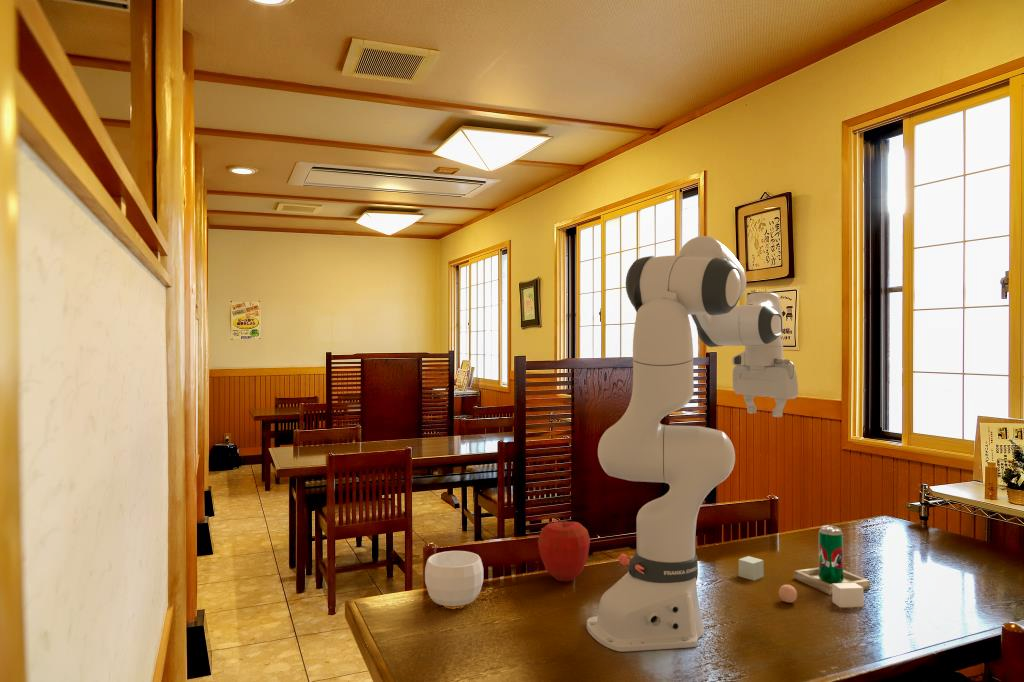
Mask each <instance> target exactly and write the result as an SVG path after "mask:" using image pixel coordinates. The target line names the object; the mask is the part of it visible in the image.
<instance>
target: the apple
mask: <svg viewBox="0 0 1024 682" xmlns="http://www.w3.org/2000/svg"><path fill="white" fill-rule="evenodd" d="M590 543H591V539H590V535H589V531H588V529H587V528H586V527H585V526H583V524H581V523H580V522H578V521H566V518H564V519H563V521H554V522H550V523H548V524H546V525H545V526H544V527H543V528H541V530H540V533H539V537H538V539H537V546H538V551H539V556H540V559H541V561H542V563H543V566H544V568H545V570H546V572H547V573H548V574H549V575H551V576H552V577H553V578H554V579H555V580H557V581H559V582H572V581H574V580H575V579H576V578H577V577H578V576H579V575H580V574H582V573H583V570H584V568H585V565H586V564H587V563H586V562H587V559H588V557H589V550H590V545H591V544H590Z"/></svg>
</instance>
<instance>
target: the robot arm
mask: <svg viewBox="0 0 1024 682" xmlns="http://www.w3.org/2000/svg"><path fill="white" fill-rule="evenodd" d="M745 272H746V271H745V269H744V267H743V266H742V265H741V263H740V261H739V260H738V259H737V258H736V256H735V255H734V253H733V252H732V251H731V250H730V249H729V248H728V247H727V246H726V245H724V244H723V243H721V242H720V241H719V240H717V238H714V237H711V236H707V235H700V236H696V237H693V238H691V239H689V240H688V241H686V243H684V245H683V246H681V248H680V250H679V253H678V255H677V254H676V255H663V256H662V255H661V256H656V255H650V256H645V257H640V258H637V259H636V260H634V262H632V264H631V266H630V267H629V268H628V271H627V273H626V276H625V277H626V278H625V292H626V294H627V297H628V299H629V301H630V303H631V305H632V306H633V308H634V310H635V312H636V314H635V315H636V316H635V322H634V328H633V338H632V366H633V367H632V371H633V372H632V392H631V396H630V397H631V398H630V400H629V403H628V404H629V405H628V406H627V409H626V411H625V412H624V414H623V415H622V416H621V418H620V419H619V420H618V421H616V422H615V423H614V424H612V425H611V426H610V427H608V428H607V429H605V431H604V432H603V434H602V436H601V437H600V439H599V442H598V447H597V457H598V461H599V464H600V466H601V468H602V469H603V471H604V472H605V474H607V475H608V476H609V477H613V478H617V479H621V480H626V481H631V482H642V483H643V482H646V483H665V484H668V485H669V490H668V491H667V492H666V493H665V494H664V495H662V496H661V497H660V496H659V497H658V498H655V499H652V500H651V501H648V502H647V503H645V504H644V505H642V507H641V508H640V509H639V510H638V512H637V515H636V551H634V554H633V556H632V557H631V556H629V555H627V554H626V553H621V554H620V555H619V556H618V562H619V563H620V565H623V566H624V567H628V569H627V570H628V571H627V573H625V574H624V575H623V576H622V577H621V578H620V579H618V580H617V582H615V583H614V584H613V585H611V587H609V588H608V589H607V590H606V591H604V593H603V594H602V595H601V597H600V600H599V605H598V609H597V610H598V611H597V615H595V616H591V617H588V618H587V620H586V630H587V632H588V633H589V635H590V636H592V638H593V639H594V640H595V641H597V642H598V643H599V644H601V645H602V646H604V647H605V648H608V649H610V650H612V651H616V652H637V651H639V652H640V651H650V650H651V651H652V650H653V651H654V650H656V651H657V650H668V649H683V648H685V649H686V648H687V649H688V648H694V647H697V646H698V643H699V639H700V638H701V637H703V635H704V634H705V630H706V629H705V626H704V623H703V619H702V614H701V610H700V605H699V596H698V589H697V588H698V587H697V580H698V575H699V572H698V571H699V568H698V566H699V565H698V555H697V554H696V532H697V531H696V530H697V520H698V515H699V511H700V508H701V506H702V504H703V502H704V500H705V498H707V496H708V495H709V494H710V493H711V491H712V490H713V489H714V488H716V487H717V486H718V485H720V484H721V483H722V482H724V481H725V480H726V479H727V478H728V477H729V476H730V474H732V471H733V470H734V466H735V463H736V452H735V451H736V450H735V447H734V445H733V443H732V441H731V439H730V437H729V436H728V435H727V434H726V433H725V432H724V431H723V430H718V429H714V428H710V427H706V426H705V427H704V426H701V425H697V426H696V425H671V424H670V425H667V424H662V423H661V420H662V419H664V417H667V416H668V415H669V414H672V413H674V412H677V411H679V410H681V409H682V408H684V407H686V405H688V404H689V403H690V401H691V400H692V398H693V396H694V393H695V392H694V391H695V387H694V386H695V385H694V384H695V383H694V347H693V336H692V335H693V334H692V329H691V323H690V318H689V315H690V316H691V318H692V320H693V322H694V324H695V327H696V332H697V335H698V337H699V339H700V341H701V342H702V343H703V344H704V345H706V346H707V347H709V348H718V347H725V346H729V347H730V346H732V347H733V346H735V347H736V346H740V347H741V346H744V351H742V352H740V353H738V354H736V355H735V356H733V357H732V359H731V364H732V365H733V366H734V367H733V368H732V389H733V391H734V393H735V394H736V395H743V401H744V402H745V403H744V404H746V412H747V414H756V413H757V409H758V406H756V405H755V403H754V399H755V397H766V398H774V403H776V404H775V407H774V408H773V409H771V410H772V411H771V413H772V414H771V415H772V417H773V418H774V417H775V418H782V417H783V415H784V414H783V410H784V408H785V405H786V404H787V400H791V399H792V400H795V399H796V398H797V397H798V395H799V386H798V375H797V371H796V369H795V364H794V363H793V362H792V361H791V360H790V359H788V358H786V359H785V358H784V344H783V341H782V333H783V329H784V324H783V323H784V322H783V310H782V309H783V308H782V304H781V298H780V296H779V295H778V294H776V293H774V292H768V291H757V292H752V293H750V294H748V295H747V297H746V302H745V304H744V305H743V304H742V305H737V304H738V302H739V301H740V300H741V298H742V297H743V296H744V294H745V292H746V288H747V276H746V273H745Z"/></svg>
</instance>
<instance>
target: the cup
mask: <svg viewBox="0 0 1024 682" xmlns="http://www.w3.org/2000/svg"><path fill="white" fill-rule="evenodd" d="M483 565H484V564H483V562H482V558H481V557H480V556H479V554H477V553H474V552H471V551H466V550H450V551H449V550H448V551H442V552H438V553H434V554H432V555H430V556H429V557H428V558H427V560H426V564H425V568H424V582H425V586H426V589H427V594H428V596H429V598H431V600H432V602H434V603H435V604H437V605H440V606H441V605H443V606H447V607H460V606H464V605H466V604H468V605H469V604H471V603H473V602H474V601H475V600H476V599H477V598H478V596H479V594H480V593H481V591H482V586H483V583H484V566H483Z"/></svg>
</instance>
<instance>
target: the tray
mask: <svg viewBox="0 0 1024 682" xmlns="http://www.w3.org/2000/svg"><path fill="white" fill-rule="evenodd" d="M793 575H794V577H793V578H794V580H797V581H799V582H802V583H804V584H806V585H808V586H810V587H812V588H815V589H816V590H819V591H821V592H823V593H825V594H828V595H830V596H831V595H832V596H833V594H832V584H830V583H826V582H824V581H822V580H821V579H820V578H819V566H818V567H812V568H805V569H796V570H794V574H793ZM841 583H856V584H858V585H860V586H861V587H863V591H865V590H870V589H871V581H870V580H869V579H866V578H864V577H862V576H860V575H858V574H854V573H851V572H849V571H847V570H845V569H843V581H842V582H841Z"/></svg>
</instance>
